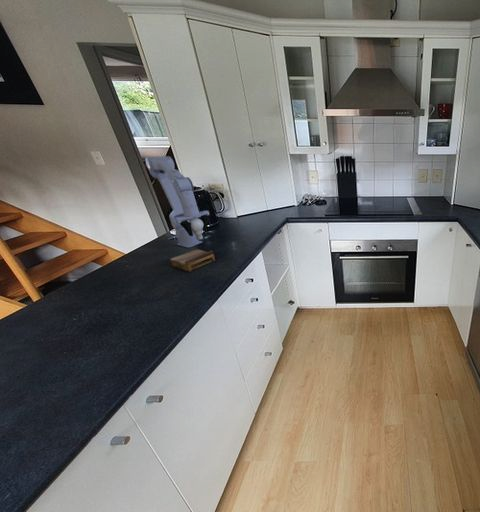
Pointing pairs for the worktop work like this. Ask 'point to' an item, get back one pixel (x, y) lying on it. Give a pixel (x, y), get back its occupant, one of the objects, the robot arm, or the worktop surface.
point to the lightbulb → (197, 227)
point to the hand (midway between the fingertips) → (198, 233)
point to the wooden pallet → (193, 259)
